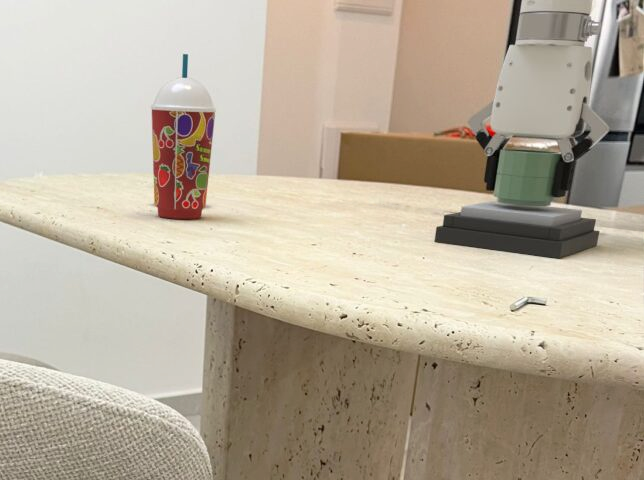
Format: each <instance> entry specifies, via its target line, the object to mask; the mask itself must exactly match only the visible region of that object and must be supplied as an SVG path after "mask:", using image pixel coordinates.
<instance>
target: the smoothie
mask: <svg viewBox="0 0 644 480" xmlns="http://www.w3.org/2000/svg"><path fill="white" fill-rule="evenodd" d="M188 64H189V54H188V53H182V66H181V69H182V70H181V77H176V78H174V79H172V80H170V81H168V82H166V83H165V84H164V85H163V86H162V87H161V88H160V89H159V91H158V92H157V94H156V97H155V98H154V101H153V104H152V105H150V110H151V133H152V134H151V137H152V138H151V139H152V142H151V143H152V167H153V169H152V170H153V171H152V172H153V198H154V199H153V201H154V202H153V203H154V207H156V208H157V214H158V216H159V217H161V218H164V219H170V220H197V219H200V218H201V217H202V214H203V209H205V208H206V207H207V206H206V205H207V195H208V186H209V177H210V168H211V167H210V166H211V156H212V147H213V137H214V127H215V117H216V112H217V108H216V107H214V103H213V100H212V97H211V95H210V93H209V91H208V90H207V88H206V87H205V86H204V85H203V84H202V83H200V82H199V81H197V80H195V79H193V78H192V77H188V68H189V65H188ZM199 217H200V218H199ZM196 218H197V219H196Z"/></svg>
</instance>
